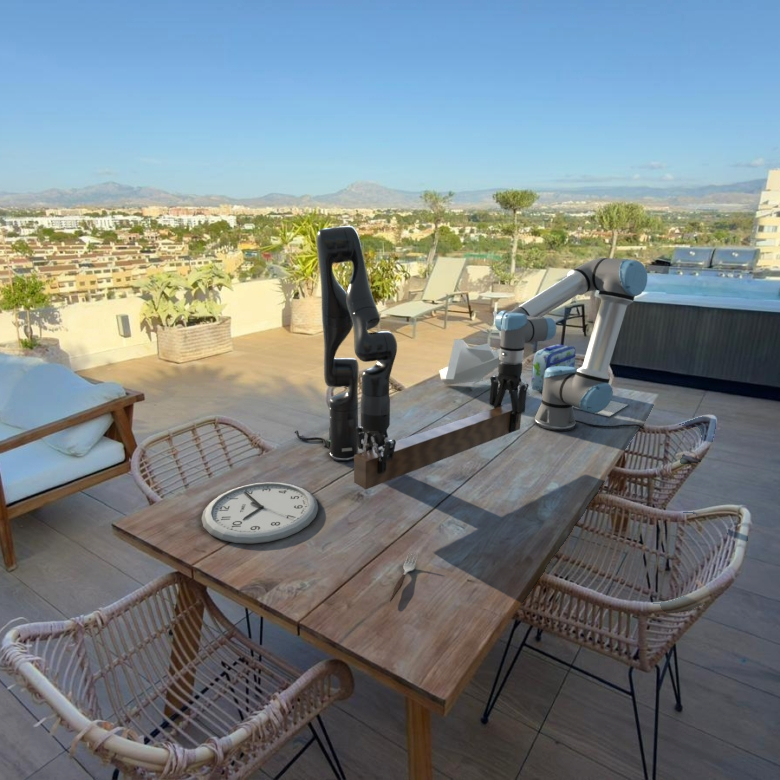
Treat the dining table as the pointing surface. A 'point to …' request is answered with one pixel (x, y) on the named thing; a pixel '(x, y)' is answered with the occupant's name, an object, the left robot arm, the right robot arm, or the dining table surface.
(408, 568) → the fork
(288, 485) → the wall clock
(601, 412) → the invitation card
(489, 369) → the white plastic object
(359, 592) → the dining table surface
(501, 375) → the right robot arm
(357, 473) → the beam
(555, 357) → the lunch box
